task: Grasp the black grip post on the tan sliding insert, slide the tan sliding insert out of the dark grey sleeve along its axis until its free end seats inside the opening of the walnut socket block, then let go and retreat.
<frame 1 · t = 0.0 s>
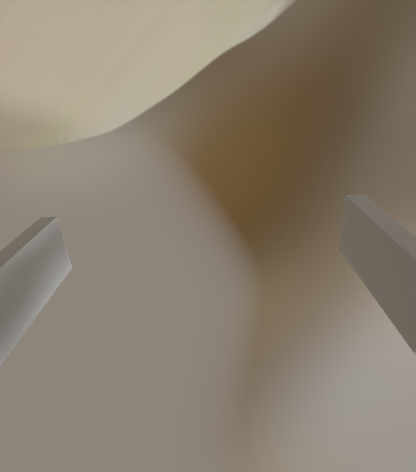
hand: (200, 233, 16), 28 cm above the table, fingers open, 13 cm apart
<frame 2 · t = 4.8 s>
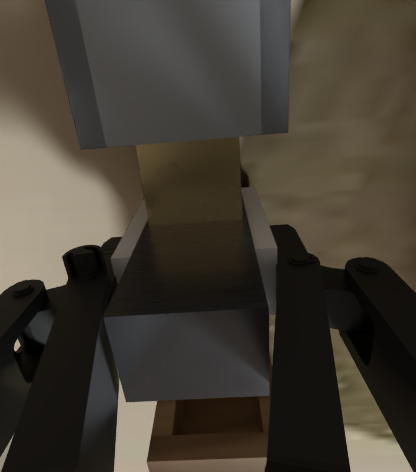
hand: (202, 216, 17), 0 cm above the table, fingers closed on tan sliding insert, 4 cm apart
socket block: (219, 423, 20), on the table
tan sliding insert: (188, 177, 11), point 6 cm above the table, slide at 0.0 cm, touching gripper
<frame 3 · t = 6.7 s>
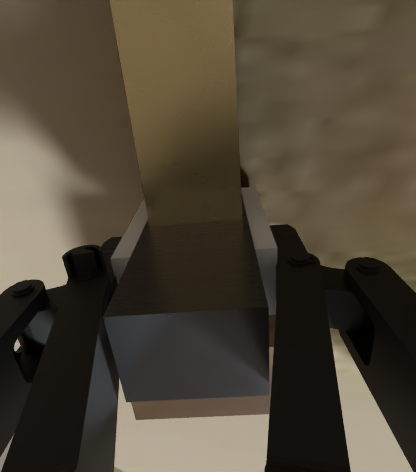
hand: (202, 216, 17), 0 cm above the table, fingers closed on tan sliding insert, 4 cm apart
socket block: (210, 332, 17), on the table
tan sliding insert: (188, 177, 11), point 6 cm above the table, slide at 7.0 cm, touching gripper
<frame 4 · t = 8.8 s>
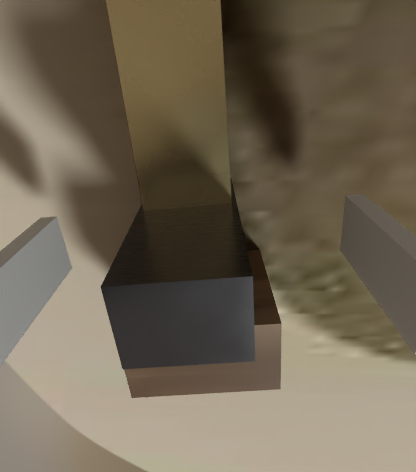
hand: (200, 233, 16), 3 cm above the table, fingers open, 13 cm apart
socket block: (202, 315, 18), on the table
tan sliding insert: (179, 162, 12), point 6 cm above the table, slide at 7.0 cm
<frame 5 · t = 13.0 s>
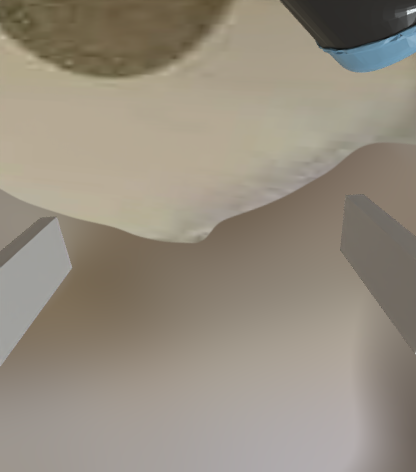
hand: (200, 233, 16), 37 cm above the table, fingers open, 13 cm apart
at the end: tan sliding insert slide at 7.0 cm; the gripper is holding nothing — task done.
